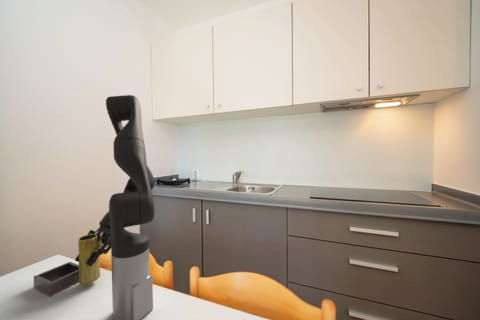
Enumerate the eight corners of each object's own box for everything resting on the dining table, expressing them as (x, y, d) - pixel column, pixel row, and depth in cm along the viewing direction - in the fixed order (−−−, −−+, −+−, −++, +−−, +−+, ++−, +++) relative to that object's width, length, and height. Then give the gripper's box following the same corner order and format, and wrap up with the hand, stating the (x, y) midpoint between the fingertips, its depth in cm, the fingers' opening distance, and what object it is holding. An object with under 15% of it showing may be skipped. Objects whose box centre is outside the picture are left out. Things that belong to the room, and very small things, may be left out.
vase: (81, 286, 65) (79, 242, 65) (75, 280, 69) (74, 237, 69) (103, 277, 70) (102, 236, 70) (96, 271, 74) (95, 232, 73)
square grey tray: (86, 278, 73) (86, 267, 73) (50, 296, 63) (49, 284, 63) (70, 272, 77) (69, 261, 77) (33, 288, 68) (33, 276, 68)
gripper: (97, 210, 79) (61, 255, 68) (122, 213, 73) (86, 263, 62) (111, 220, 84) (79, 263, 73) (136, 224, 78) (105, 271, 67)
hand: (83, 263), depth 68 cm, fingers closed on vase, 5 cm apart
